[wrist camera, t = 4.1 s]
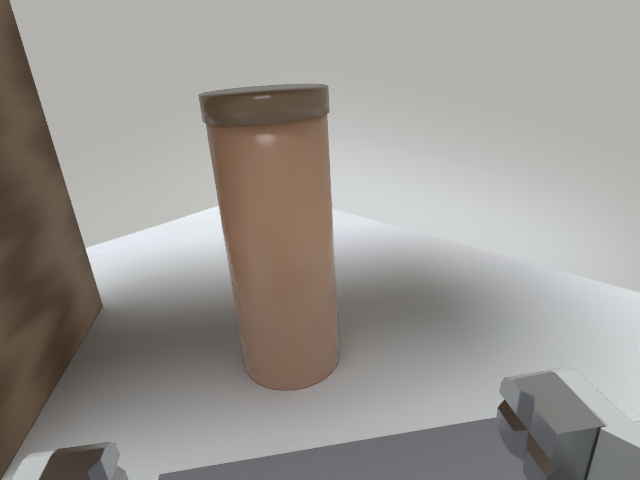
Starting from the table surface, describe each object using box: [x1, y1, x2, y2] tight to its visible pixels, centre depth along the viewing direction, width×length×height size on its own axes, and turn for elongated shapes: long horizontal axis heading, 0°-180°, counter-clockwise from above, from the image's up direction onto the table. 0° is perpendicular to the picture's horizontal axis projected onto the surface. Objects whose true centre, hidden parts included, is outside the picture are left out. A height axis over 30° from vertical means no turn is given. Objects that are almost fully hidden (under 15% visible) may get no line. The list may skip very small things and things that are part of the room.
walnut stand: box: [0, 0, 103, 479], centre depth 19 cm, size 13×26×26 cm, turn 99°
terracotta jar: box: [199, 84, 339, 390], centre depth 20 cm, size 5×5×13 cm
